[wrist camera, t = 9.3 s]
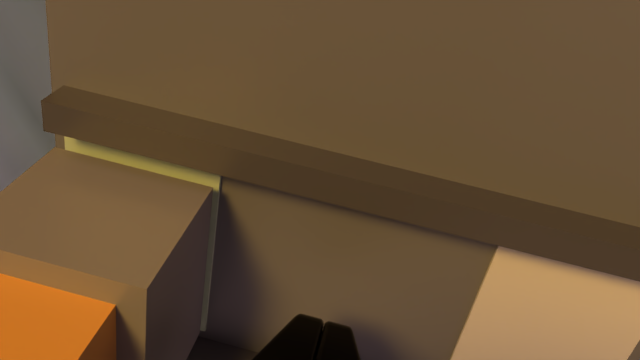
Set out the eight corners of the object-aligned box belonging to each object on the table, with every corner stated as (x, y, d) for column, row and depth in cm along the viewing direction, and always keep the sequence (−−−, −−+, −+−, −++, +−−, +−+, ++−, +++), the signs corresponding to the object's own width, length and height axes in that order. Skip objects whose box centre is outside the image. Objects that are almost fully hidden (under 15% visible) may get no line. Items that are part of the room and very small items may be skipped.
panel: (452, 599, 16) (452, 669, 15) (101, 495, 17) (71, 553, 16) (1050, -383, 6) (1230, -445, 4) (62, -550, 7) (-41, -646, 5)
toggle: (199, 332, 11) (71, 591, 7) (65, 295, 11) (-126, 530, 8) (213, 187, 9) (55, 429, 6) (54, 146, 10) (-198, 356, 6)
